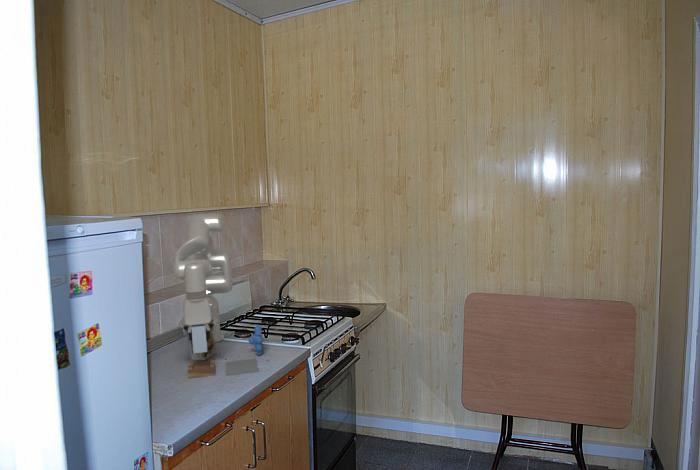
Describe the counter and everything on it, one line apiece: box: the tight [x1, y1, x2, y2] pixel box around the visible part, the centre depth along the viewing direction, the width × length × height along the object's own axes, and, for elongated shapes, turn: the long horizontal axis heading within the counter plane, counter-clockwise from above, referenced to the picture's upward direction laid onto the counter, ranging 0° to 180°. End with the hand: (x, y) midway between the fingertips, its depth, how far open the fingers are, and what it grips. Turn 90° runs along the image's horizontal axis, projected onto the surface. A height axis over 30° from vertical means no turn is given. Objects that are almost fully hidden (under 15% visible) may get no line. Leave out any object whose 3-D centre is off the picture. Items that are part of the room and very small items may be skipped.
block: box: [192, 324, 208, 354], centre depth 184 cm, size 5×5×10 cm
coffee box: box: [190, 319, 216, 361], centre depth 203 cm, size 9×6×16 cm
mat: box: [225, 357, 259, 377], centre depth 189 cm, size 14×12×1 cm
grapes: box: [248, 324, 265, 356], centre depth 204 cm, size 12×7×12 cm, turn 12°
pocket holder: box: [187, 358, 216, 380], centre depth 185 cm, size 10×10×3 cm
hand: (199, 340), depth 184 cm, fingers closed on block, 5 cm apart
